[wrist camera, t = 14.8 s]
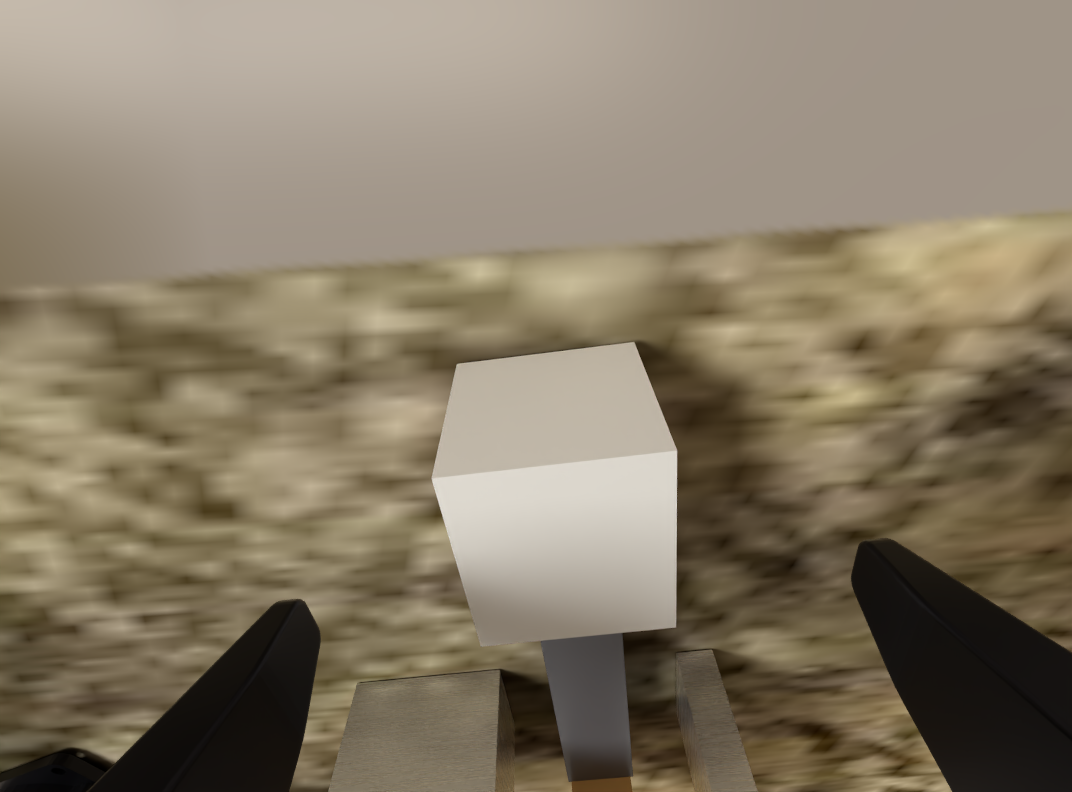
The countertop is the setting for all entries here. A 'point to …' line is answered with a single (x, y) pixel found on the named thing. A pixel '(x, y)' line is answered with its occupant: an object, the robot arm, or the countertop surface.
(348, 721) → the housing
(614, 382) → the multicoloured u-shaped piece
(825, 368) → the countertop surface
